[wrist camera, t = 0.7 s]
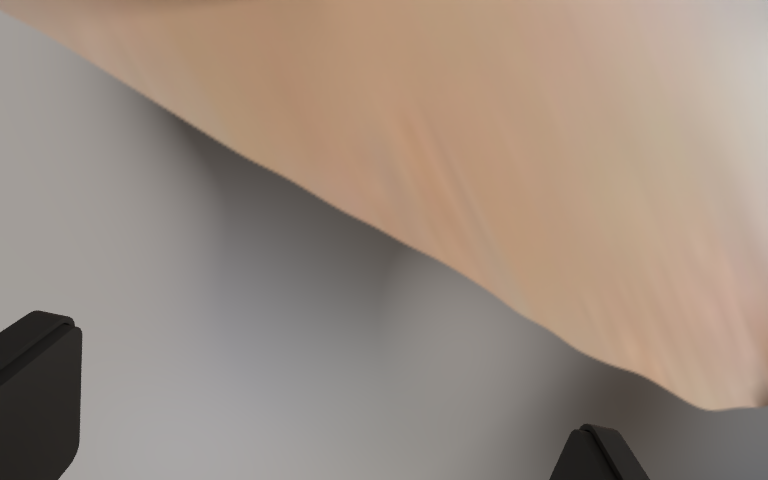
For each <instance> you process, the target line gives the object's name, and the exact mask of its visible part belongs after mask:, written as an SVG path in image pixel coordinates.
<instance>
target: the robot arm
mask: <svg viewBox="0 0 768 480" xmlns="http://www.w3.org/2000/svg"><path fill="white" fill-rule="evenodd" d="M81 361H82V331H81V329H80V328H79V327H75V324H74V321H73V319H72V318H70V317H68V316H63V315H58V314H53V313H48V312H43V311H33V312H31V313H29V314H27V315H26V316H24V317H23V318H21V319H20V320H18V321H17V322H15V323H14V324H12V325H11V326H9V327H8V328H6V329H5V330H3V331H2V332H0V480H58V479H59V478H60V476H61V475H62V474H63V473H64V472H65V470H66V469H67V468H68V467H69V465H70V464H71V463H72V461H73V459H74V457H75V455H76V453H77V450H78V447H79V437H80V434H79V433H80V399H81ZM550 480H650V479H649V478H648V476H647V474H646V473H645V471H644V470H643V468H642V467H641V465H640V464H639V462H638V461H637V459H636V457H635V456H634V454H633V453H632V451H631V450H630V448H629V446H628V445H627V443H626V442H625V440H624V439H623V437H622V436H621V434H620V433H619V432H618V431H616V430H614V429H611V428H606V427H600V426H596V425H591V424H584V425H582V426H581V427H580V429H579V430H573V431H572V432H571V434H570V436H569V438H568V440H567V442H566V444H565V447H564V449H563V451H562V453H561V455H560V458H559V460H558V462H557V464H556V466H555V468H554V471H553V473H552V475H551V477H550Z"/></svg>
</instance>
